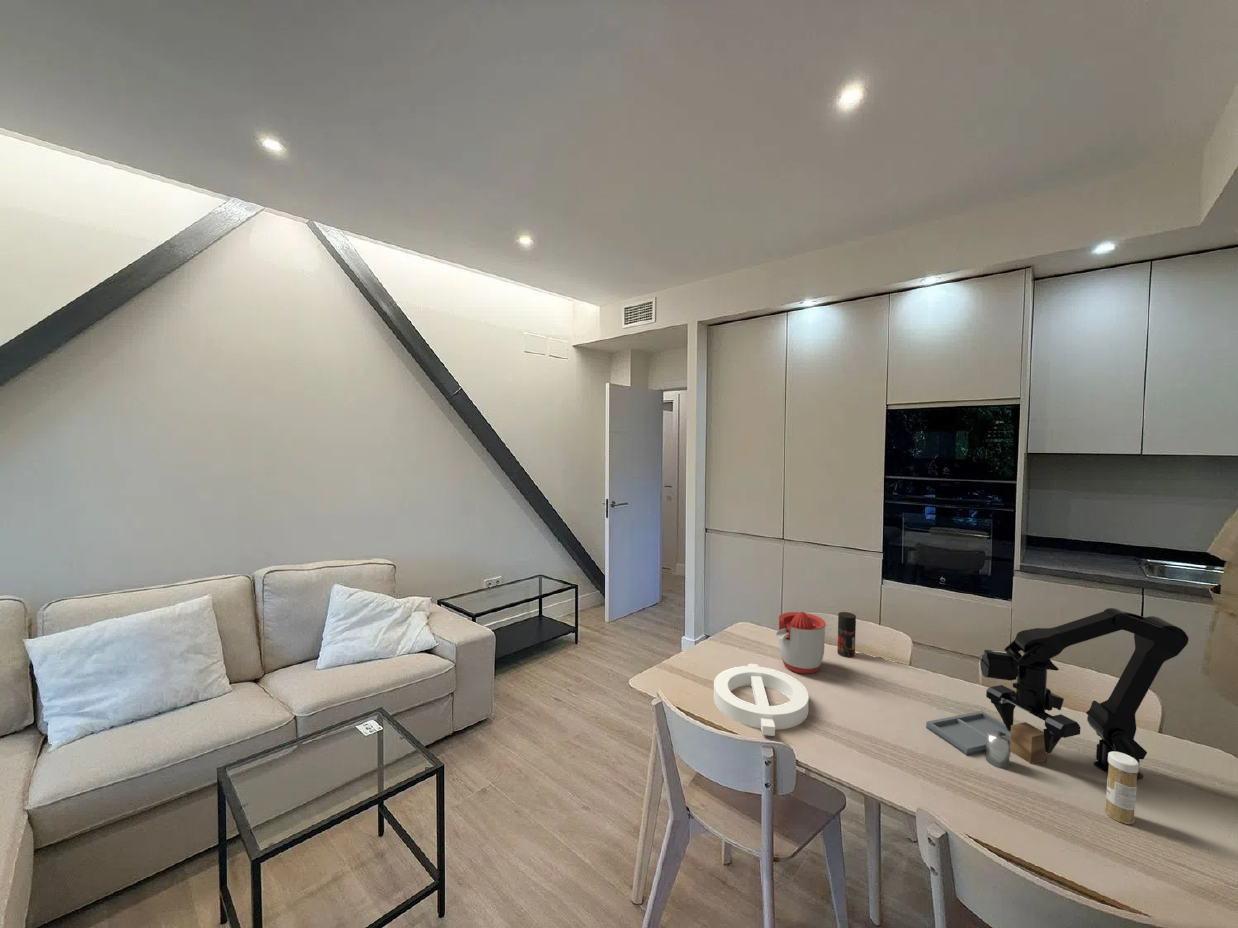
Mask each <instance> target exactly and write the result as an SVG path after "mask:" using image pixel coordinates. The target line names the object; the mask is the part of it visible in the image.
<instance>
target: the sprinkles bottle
mask: <svg viewBox="0 0 1238 928" xmlns="http://www.w3.org/2000/svg"><path fill="white" fill-rule="evenodd" d="M1108 763H1109V770H1108V772H1107V780H1106V792H1105V794H1106V795H1105V796H1106V800H1105V807H1104V812H1105V813H1106V814H1107V815H1108V817H1110V818H1111V819H1113V820H1115V821H1117V822H1119V823H1122V824H1126V825H1134V823H1135V821H1136V820H1135V809H1136V801H1137V788H1138V787H1137V786H1138V785H1137V784H1138V783H1137V781H1138V779H1137V774H1138V771H1139V772H1140V762H1139V763H1138V761H1137V760H1135V759H1134V758H1133V757H1131V756H1129V755H1126V754H1124V753H1120V752H1114V751H1113V752H1109V753H1108Z"/></svg>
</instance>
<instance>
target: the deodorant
mask: <svg viewBox="0 0 1238 928" xmlns="http://www.w3.org/2000/svg"><path fill="white" fill-rule="evenodd" d="M837 615H838V616H837V619H838V620H837V655H839V656H841V657H843V658H847V659H848V658H849V659H850V658H851V659H852V658H855V657H856V633H857V632H856V629H857V615H856V614H855V613H852V612H848V611H840V612H838V614H837Z"/></svg>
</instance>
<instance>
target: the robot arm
mask: <svg viewBox="0 0 1238 928" xmlns="http://www.w3.org/2000/svg"><path fill="white" fill-rule="evenodd" d="M1119 631H1125V632H1128V633H1132V634H1133V638H1134V639H1133V640H1134V650H1133V653H1132V655H1131V657H1130V658H1129V660H1128V662H1127V664H1126V665H1125V668H1124V670H1123V672H1122V673H1121V675H1120V677H1119V679H1118V681H1117V683H1116V685H1115V686H1114V688H1113V690H1112V692H1111V694H1110V695H1109V698H1107V700H1105V701H1102V702H1098V701H1097V700H1095V699H1094V700H1093V701H1092V702H1091V705H1090V708H1089V710H1087V711H1086V712H1085V714H1086V715H1087V717H1086V719H1087V723H1088V724H1089V726H1090V727H1091V728H1092V729H1093V731H1095V734H1096V735H1097V736H1098V737H1099V738H1100V739H1099V741H1098V744H1097V743H1096V751H1095V752H1096V753H1095V760H1096V761H1093V765H1094V767H1097V768H1099V769H1101V770H1102V771H1104V772H1106V773H1108V770H1109V763H1108V753H1109V752H1113V751H1114V752H1120V753H1124V754H1126V755H1129V756H1131V757H1133V758H1134V759H1135V760H1137V761H1138V763H1139V764H1140V762H1141V761H1140V760H1144V759H1145V758H1146V756H1147V754H1148V752H1147V750H1146V749H1144V748H1143V747H1142V746H1141V745H1140V744H1139V743H1138V742H1137V741H1136V740H1135V736H1136V733H1137V720H1136V714H1137V711H1138V709H1139V708H1140V706H1141V704H1142V702H1143V701H1144V699H1145V697H1146V695H1147V693H1148V692H1149V690H1150V688H1151V686H1152V684H1153V682H1154V681H1155V679H1156V677H1157V676H1158V674H1159V672H1160V670H1161V668H1162V666H1163V664H1164V663H1165V662H1167V661H1169V660H1171V659H1173V658H1175V657H1177V656H1179V655H1180V654H1181V652H1182V651H1183V650H1184V649H1185V648H1186V647H1187V645H1188V643H1189V641H1190V640H1189V636H1188V634H1187V633H1186V631H1185V630H1183V629H1182V628H1181V627H1178V626H1177V625H1174V624H1173V623H1170V622H1169V621H1167V620H1164V619H1163V618H1160V617H1159V616H1158V617H1157V616H1153V615H1152V616H1142V615H1139V614H1135V613H1133V612H1132V613H1131V612H1128V611H1124V610H1120V609H1118V608H1113V607H1110V608H1105V609H1104V610H1103V611H1100V612H1097V613H1094V614H1091V615H1088V616H1085V617H1083V618H1080V619H1077V620H1073V621H1070V622H1067V623H1063V624H1060V625H1058V626H1054V627H1049V628H1047V627H1035V628H1031V629H1030V628H1029V629H1025V630H1023V629H1022V630H1020V631H1019V632H1017V633H1016V636H1015V639H1013V641H1011V643H1009V644H1008V645H1007V646H1006V647H1005V648H1004V649H1003V650H1004V652H1000V651H993V650H992V649H991V650H990V649H984V651H983V653H982V655H981V658H980V659H979V666H980V671H981V674H982V676H983V677H984V678H988V679H997V680H1004V681H1011V682H1012V681H1016V682H1012V688H1014V689H1015V690H1013V689H1011V688H1009V687H1007V686H1006V685H1003V684H1000V685H993V686H989V687H987V689H986V690H985V691H986V693H985V697H986V698H987V699H989V700H990V703H991V704H993V706H994V708H995V709H996V711H997V712H998V714H999V716H1000V718H1001V719H1002V721H1003V722H1002V723H1004V724H1005V726H1006V728H1007V730H1008V731H1011V725H1014V712H1015V709H1016V708H1018V709H1021V710H1023V711H1025V712H1027V713H1029V714H1030V715H1033V716H1035V717H1036V718H1038V719H1040V720H1042V721H1044V727H1045V728H1044V729H1043V732H1044V742H1045V750H1046V754H1048V755H1049V754H1051V753H1052V752H1053V750H1055V748H1056V746H1057V744H1058V743H1059V742H1060V740H1061V739H1062V738H1064V739H1066V738H1071V737H1073V736H1079V735H1081V725H1080V724H1079V723H1078V721H1076V720H1074V719H1072V718H1070V717H1067V716H1065V715H1063V714H1056V715H1055V714H1054V715H1052V714H1049V713H1048V712H1049V711H1053V709H1057V710H1058V711H1061V710H1062V706H1063V704H1064V701H1065V698H1063V697H1061V696H1059V695H1057V694H1055V693H1053V692H1052V691H1051V689H1049V688H1047V685H1048V684H1047V682H1048V680H1047V679H1048V670H1049V671H1057V672H1058V671H1059V670H1060V669H1059V667H1058V666H1056V665H1055V664H1054V663H1053V662H1052V660H1051V659H1052V658H1054V657H1057V656H1059V655H1060V654H1061V653H1062V652H1063V651H1064V649H1066V648H1069V647H1070V646H1073V645H1077V644H1080V643H1085V642H1088V641H1090V640H1093V639H1096V638H1100V637H1103V636H1105V635H1109V634H1112V633H1117V632H1119ZM1020 652H1022V653H1023V655H1022V653H1020ZM1046 711H1048V712H1046ZM1142 778H1144V775H1143V774H1142V773H1141V772H1140V770H1139V771H1138V774H1137V780H1138V779H1142Z"/></svg>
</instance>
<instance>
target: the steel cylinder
mask: <svg viewBox="0 0 1238 928" xmlns="http://www.w3.org/2000/svg"><path fill="white" fill-rule="evenodd" d="M1010 753H1011V751H1010V737H1009V736H1008V735H1006V734H1004V733H1002V732H999V731H996V730H989V731H987V744H986V751H985V760H986V762H987V763H988V764H990V765H991V766H993V767H995V768H998V769H1003V770H1007V769H1009V768H1010V758H1011V757H1010V755H1011V754H1010Z"/></svg>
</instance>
